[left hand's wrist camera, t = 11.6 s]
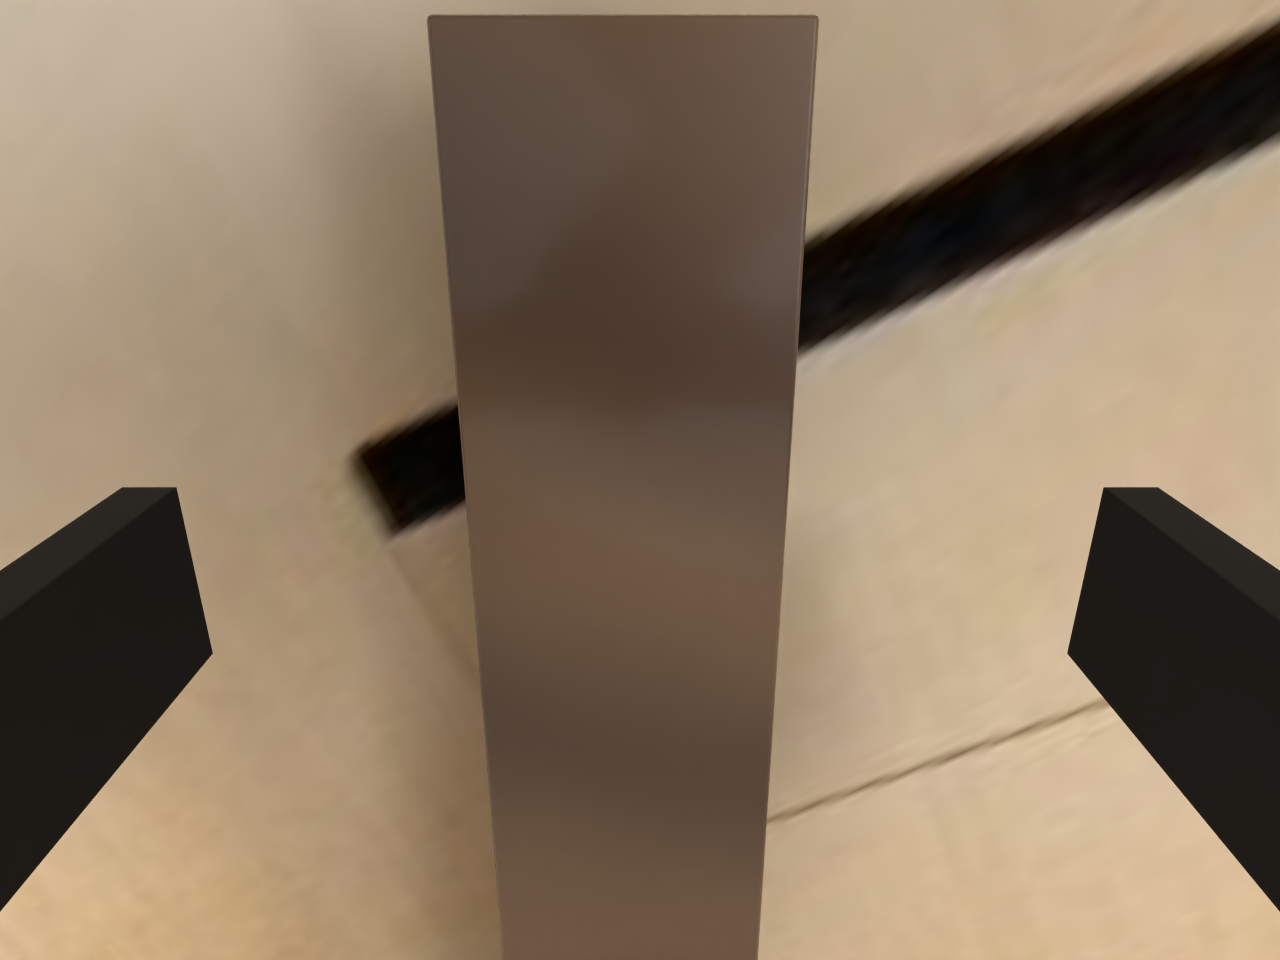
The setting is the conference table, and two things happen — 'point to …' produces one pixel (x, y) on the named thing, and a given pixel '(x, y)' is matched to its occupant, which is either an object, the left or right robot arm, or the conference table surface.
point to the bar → (626, 453)
